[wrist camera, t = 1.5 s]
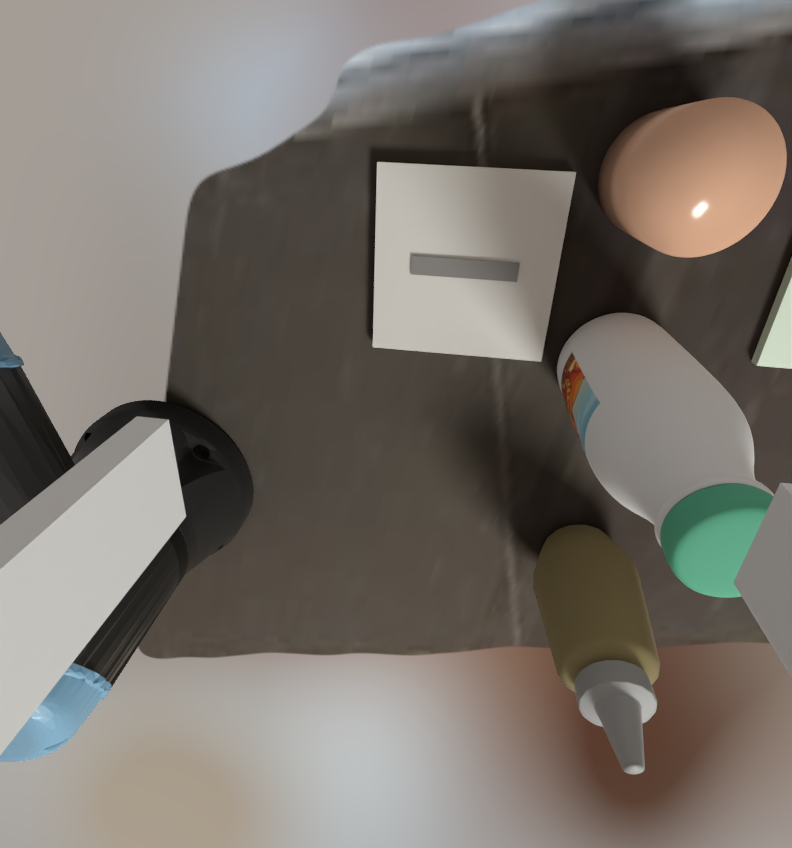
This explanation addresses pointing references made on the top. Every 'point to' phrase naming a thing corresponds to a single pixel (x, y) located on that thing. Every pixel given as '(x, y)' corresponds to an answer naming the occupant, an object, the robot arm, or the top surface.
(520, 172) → the tile
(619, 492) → the milk bottle
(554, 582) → the squeeze bottle
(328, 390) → the top surface
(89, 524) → the robot arm
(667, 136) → the rounded peach cylinder
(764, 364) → the tile
